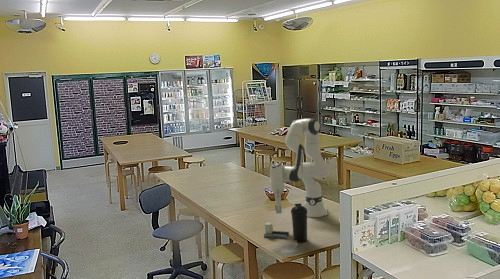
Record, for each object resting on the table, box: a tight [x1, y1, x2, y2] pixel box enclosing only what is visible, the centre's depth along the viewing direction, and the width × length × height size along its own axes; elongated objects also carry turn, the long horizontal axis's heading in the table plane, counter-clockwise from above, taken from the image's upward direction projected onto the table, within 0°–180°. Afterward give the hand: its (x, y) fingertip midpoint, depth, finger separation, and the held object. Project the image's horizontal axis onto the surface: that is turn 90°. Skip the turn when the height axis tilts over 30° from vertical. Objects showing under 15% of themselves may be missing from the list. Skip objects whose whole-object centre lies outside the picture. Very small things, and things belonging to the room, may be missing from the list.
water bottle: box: [290, 203, 308, 244], centre depth 272 cm, size 10×10×23 cm
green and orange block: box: [264, 222, 274, 234], centre depth 282 cm, size 4×4×8 cm
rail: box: [263, 230, 290, 241], centre depth 281 cm, size 10×15×3 cm, turn 71°
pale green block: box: [274, 202, 283, 215], centre depth 289 cm, size 4×4×8 cm
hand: (278, 207), depth 289 cm, fingers closed on pale green block, 4 cm apart
